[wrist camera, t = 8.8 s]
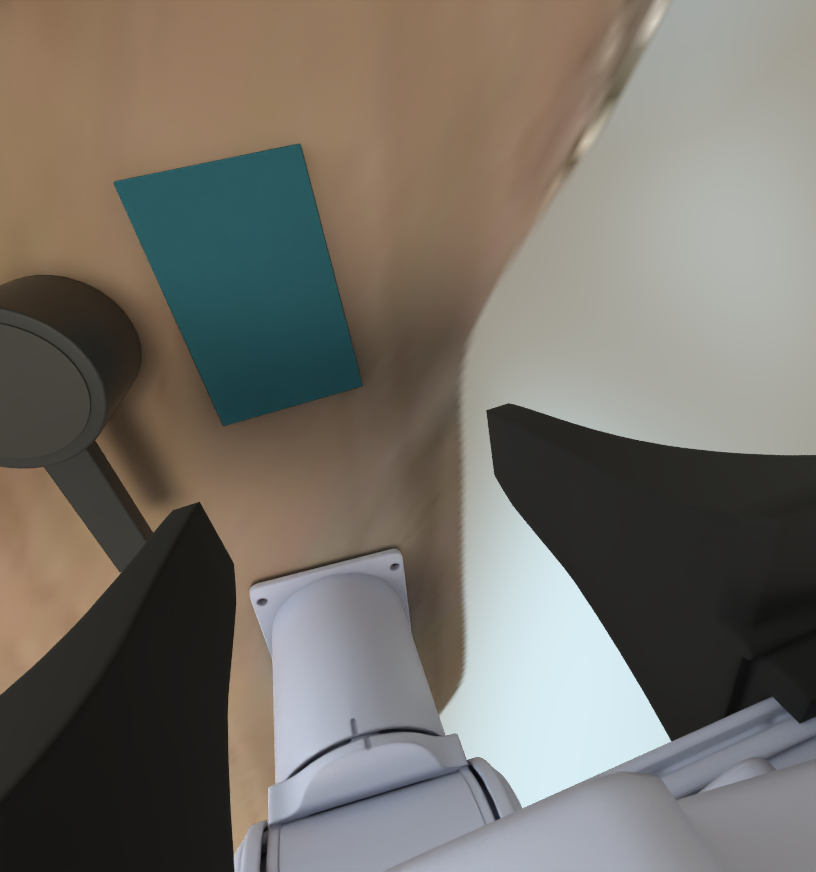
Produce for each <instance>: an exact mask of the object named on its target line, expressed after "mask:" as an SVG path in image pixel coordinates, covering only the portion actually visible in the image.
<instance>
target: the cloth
mask: <svg viewBox="0 0 816 872" xmlns="http://www.w3.org/2000/svg"><path fill="white" fill-rule="evenodd" d="M114 185H115V188H116V190H117V192H118V194H119V196H120V199H121V201H122V203H123V205H124V208H125V210H126V212H127V214H128V216H129V219H130V221H131V223H132V225H133V227H134V230H135V232H136V234H137V236H138V239H139V241H140V243H141V245H142V247H143V250H144V252H145V254H146V256H147V258H148V261H149V263H150V265H151V267H152V270H153V272H154V274H155V276H156V278H157V281H158V283H159V285H160V287H161V290H162V292H163V294H164V296H165V298H166V301H167V303H168V305H169V307H170V309H171V312H172V314H173V316H174V318H175V321H176V323H177V325H178V327H179V329H180V332H181V334H182V336H183V338H184V341H185V343H186V345H187V347H188V349H189V352H190V354H191V356H192V358H193V360H194V363H195V365H196V367H197V369H198V372H199V374H200V376H201V378H202V380H203V383H204V385H205V387H206V389H207V391H208V394H209V396H210V398H211V400H212V403H213V405H214V407H215V409H216V411H217V414H218V416H219V418H220V420H221V423H222V425H223V426H225V425H229V424H232V423H236V422H239V421H243V420H246V419H250V418H253V417H257V416H260V415H264V414H267V413H271V412H274V411H278V410H281V409H285V408H288V407H292V406H295V405H299V404H302V403H306V402H309V401H313V400H316V399H320V398H323V397H327V396H330V395H334V394H337V393H341V392H344V391H348V390H351V389H355V388H358V387H362V386H363V385H362V381H361V377H360V373H359V369H358V365H357V361H356V358H355V354H354V350H353V346H352V342H351V338H350V334H349V330H348V327H347V323H346V319H345V315H344V311H343V307H342V303H341V299H340V296H339V292H338V288H337V284H336V280H335V276H334V272H333V268H332V264H331V261H330V257H329V253H328V249H327V245H326V241H325V237H324V233H323V230H322V226H321V222H320V218H319V214H318V210H317V206H316V202H315V198H314V195H313V191H312V187H311V183H310V179H309V175H308V171H307V167H306V164H305V160H304V156H303V152H302V148H301V145H300V144H295V145H290V146H285V147H280V148H275V149H270V150H266V151H261V152H256V153H251V154H246V155H241V156H236V157H232V158H227V159H222V160H217V161H212V162H207V163H202V164H198V165H193V166H188V167H183V168H178V169H173V170H168V171H163V172H159V173H154V174H149V175H144V176H139V177H134V178H129V179H125V180H120V181H115V182H114Z"/></svg>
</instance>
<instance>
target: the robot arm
mask: <svg viewBox="0 0 816 872" xmlns="http://www.w3.org/2000/svg"><path fill="white" fill-rule="evenodd" d="M487 419H488V427H489V435H490V443H491V451H492V459H493V467H494V475H495V477H496V479H497V480H498V482H499V484H500V485H501V487H502V489H503V491H504V492H505V494H506V495H507V497H508V499H509V500H510V502H511V503H512V505H513V506H514V507H515V509H516V510H517V511H518V512H519V514H520V515H521V516H522V517H523V519H524V520H525V521H526V522H527V524H528V525H529V526H530V527H531V528H532V530H533V531H534V532H535V533H536V534H537V536H538V537H539V538H540V539H541V540H542V542H543V543H544V544H545V545H546V546H547V548H548V549H549V550H550V551H551V552H552V554H553V555H554V556H555V557H556V559H557V560H558V561H559V562H560V563H561V565H562V566H563V567H564V568H565V570H566V571H567V572H568V574H569V575H570V576H571V578H572V579H573V580H574V582H575V583H576V585H577V586H578V587H579V589H580V591H581V592H582V594H583V595H584V597H585V598H586V600H587V601H588V603H589V604H590V606H591V607H592V609H593V610H594V612H595V613H596V615H597V616H598V618H599V620H600V621H601V623H602V624H603V626H604V627H605V629H606V631H607V632H608V634H609V636H610V637H611V639H612V640H613V642H614V644H615V645H616V647H617V648H618V650H619V651H620V653H621V655H622V656H623V658H624V660H625V662H626V663H627V665H628V666H629V668H630V670H631V671H632V673H633V675H634V677H635V678H636V680H637V682H638V683H639V685H640V687H641V688H642V690H643V692H644V693H645V695H646V697H647V698H648V700H649V702H650V704H651V706H652V708H653V709H654V711H655V713H656V715H657V716H658V718H659V720H660V722H661V723H662V725H663V727H664V729H665V731H666V732H667V734H668V736H669V738H670V739H671V741H672V742H670V743H667V744H665V745H663V746H661V747H659V748H656V749H654V750H652V751H650V752H647V753H645V754H643V755H641V756H638V757H636V758H634V759H632V760H630V761H627V762H625V763H623V764H621V765H618V766H616V767H614V768H612V769H609V770H607V771H605V772H603V773H601V774H599V775H596V776H594V777H592V778H590V779H587V780H585V781H583V782H581V783H578V784H576V785H574V786H572V787H570V788H567V789H565V790H563V791H561V792H559V793H556V794H554V795H552V796H549V797H547V798H545V799H543V800H541V801H538V802H536V803H534V804H532V805H529V806H527V807H525V808H523V809H522V807H521V805H520V803H519V801H518V799H517V797H516V795H515V793H514V792H513V790H512V788H511V786H510V785H509V783H508V782H507V780H506V779H505V778H504V777H503V776H502V775H501V774H500V773H499V772H498V771H497V770H495V769H494V768H493V767H492V766H491V765H490V764H489V763H488V762H487V761H486V760H484V759H483V758H480V757H476V758H472V759H469V760H466V757H465V754H464V751H463V748H462V745H461V743H460V740H459V737H458V735H457V734H451V735H447V736H445V733H444V730H443V727H442V724H441V721H440V718H439V715H438V712H437V709H436V706H435V703H434V700H433V697H432V694H431V691H430V688H429V685H428V682H427V679H426V676H425V673H424V670H423V667H422V664H421V661H420V658H419V655H418V652H417V649H416V646H415V643H414V640H413V637H412V633H411V624H410V616H409V607H408V599H407V590H406V582H405V573H404V565H403V557H402V554H401V552H400V551H399V550H398V549H390V550H386V551H382V552H378V553H374V554H370V555H366V556H362V557H358V558H354V559H351V560H347V561H343V562H339V563H335V564H331V565H327V566H323V567H319V568H315V569H311V570H308V571H304V572H300V573H296V574H292V575H288V576H284V577H280V578H276V579H272V580H268V581H265V582H261V583H257V584H255V585H253V586H252V587H251V589H250V599H251V602H252V605H253V607H254V610H255V613H256V616H257V619H258V621H259V624H260V627H261V630H262V633H263V635H264V638H265V641H266V644H267V647H268V649H269V652H270V655H271V658H272V661H273V702H274V744H275V784H274V785H271V786H270V787H269V788H268V822H267V820H265V821H262V822H259V823H255V824H253V825H251V826H250V827H249V829H248V831H247V833H246V836H245V838H244V839H243V841H242V843H241V844H240V846H239V847H238V849H237V851H236V852H235V855H233V840H232V825H231V809H230V786H229V763H228V693H229V682H230V670H231V659H232V648H233V637H234V625H235V612H236V586H235V572H234V563H233V561H232V559H231V558H230V556H229V554H228V552H227V550H226V549H225V547H224V545H223V543H222V541H221V540H220V538H219V536H218V534H217V532H216V531H215V529H214V527H213V525H212V523H211V522H210V520H209V518H208V516H207V514H206V513H205V511H204V509H203V507H202V505H201V503H200V502H198V503H194V504H191V505H188V506H185V507H182V508H179V509H176V510H173V511H172V512H171V513H170V514H169V515H168V516H167V517H166V518H165V520H164V521H163V522H162V523H161V524H160V526H159V527H158V528H157V529H156V531H155V532H154V533H153V534H152V536H151V537H150V538H149V539H148V541H147V542H146V543H145V544H144V546H143V547H142V548H141V549H140V551H139V552H138V553H137V554H136V555H135V557H134V558H133V559H132V560H131V562H130V563H129V564H128V565H127V567H126V568H125V569H124V570H123V571H122V573H121V574H120V575H119V576H118V578H117V579H116V580H115V581H114V582H113V583H112V584H111V585H110V587H109V588H108V589H107V590H106V591H105V592H104V593H103V595H102V596H101V597H100V598H99V599H98V600H97V601H96V603H95V604H94V605H93V606H92V607H91V608H90V609H89V611H88V612H87V613H86V614H85V615H84V616H83V617H82V618H81V619H80V620H79V621H78V623H77V624H76V625H75V626H74V627H73V628H72V629H71V630H70V631H69V632H68V633H67V634H66V635H65V636H64V637H63V638H62V639H61V640H60V641H59V642H58V643H57V644H56V645H55V646H54V647H53V648H52V649H51V650H50V651H49V652H48V653H47V654H46V655H45V656H44V657H43V658H41V659H40V660H39V661H38V662H37V663H36V664H35V665H34V666H33V667H32V668H31V669H30V670H29V671H27V672H26V673H25V674H24V675H23V676H22V677H21V678H19V679H18V680H17V681H16V682H15V683H14V684H13V685H11V686H10V687H9V688H8V689H7V690H6V691H5V692H4V693H2V694H1V695H0V872H816V455H793V456H792V455H761V454H740V453H727V452H715V451H706V450H697V449H688V448H680V447H673V446H667V445H660V444H655V443H649V442H644V441H639V440H634V439H629V438H625V437H620V436H616V435H613V434H609V433H605V432H601V431H597V430H593V429H590V428H586V427H583V426H580V425H577V424H573V423H570V422H567V421H564V420H560V419H557V418H555V417H551V416H549V415H546V414H543V413H539V412H536V411H533V410H530V409H527V408H524V407H521V406H517V405H514V404H509V403H508V404H505V405H502V406H499V407H496V408H492V409H489V410H487ZM395 563H397V564H396V565H394V566H391V565H392V564H395ZM261 598H265V599H264V600H259V599H261Z"/></svg>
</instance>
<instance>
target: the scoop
mask: <svg viewBox="0 0 816 872" xmlns="http://www.w3.org/2000/svg"><path fill="white" fill-rule="evenodd" d="M140 363H141V348H140V343H139V339H138V336H137V333H136V331H135V329H134V327H133V325H132V323H131V322H130V320H129V319H128V317H127V316H126V315H125V313H124V312H123V311H122V310H121V309H120V308H119V307H118V306H117V305H116V304H115V303H114V302H113V301H112V300H110V299H109V298H108V297H107V296H105V295H104V294H102V293H101V292H99V291H98V290H96V289H94V288H92V287H90V286H88V285H86V284H83V283H81V282H79V281H75V280H72V279H69V278H64V277H59V276H51V275H34V276H28V277H23V278H20V279H16V280H13V281H11V282H8V283H6V284H3V285H0V467H7V468H37V467H44V468H45V469H46V471H47V472H48V473H49V475H50V476H51V478H52V479H53V480H54V482H55V483H56V484H57V486H58V487H59V489H60V490H61V491H62V493H63V494H64V496H65V497H66V498H67V500H68V501H69V503H70V504H71V505H72V507H73V508H74V509H75V511H76V512H77V514H78V515H79V516H80V518H81V519H82V521H83V522H84V523H85V525H86V526H87V527H88V529H89V530H90V532H91V533H92V534H93V536H94V537H95V539H96V540H97V541H98V543H99V544H100V546H101V547H102V548H103V550H104V551H105V552H106V554H107V555H108V557H109V558H110V559H111V561H112V562H113V564H114V565H115V566H116V568H117V569H118V571H119V572H122V571H123V570H124V569H125V568H126V567H127V565H128V564H129V563H130V562H131V560H132V559H133V558H134V557H135V555H136V554H137V553H138V552H139V551H140V549H141V548H142V547H143V546H144V544H145V543H146V542H147V541H148V539H149V538H150V537H151V536H152V534H153V532H152V530H151V529H150V527H149V525H148V524H147V522H146V521H145V519H144V517H143V516H142V514H141V513H140V511H139V509H138V508H137V506H136V505H135V503H134V501H133V500H132V498H131V497H130V495H129V493H128V492H127V490H126V489H125V487H124V486H123V484H122V482H121V481H120V479H119V478H118V476H117V474H116V473H115V471H114V470H113V468H112V466H111V465H110V463H109V462H108V460H107V458H106V457H105V455H104V454H103V452H102V450H101V449H100V447H99V446H98V444H97V443H96V441H95V440H96V438H97V437H98V436H99V434H100V433H101V431H102V430H103V428H104V426H105V425H106V423H107V422H108V420H109V419H110V417H111V416H112V414H113V413H114V411H115V409H116V408H117V406H118V405H119V403H120V402H121V400H122V399H123V397H124V396H125V394H126V392H127V391H128V389H129V388H130V386H131V385H132V383H133V382H134V380H135V378H136V376H137V374H138V371H139V368H140Z"/></svg>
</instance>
